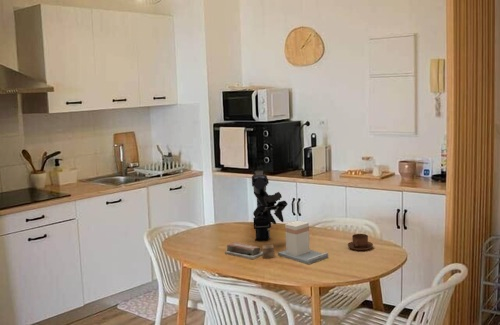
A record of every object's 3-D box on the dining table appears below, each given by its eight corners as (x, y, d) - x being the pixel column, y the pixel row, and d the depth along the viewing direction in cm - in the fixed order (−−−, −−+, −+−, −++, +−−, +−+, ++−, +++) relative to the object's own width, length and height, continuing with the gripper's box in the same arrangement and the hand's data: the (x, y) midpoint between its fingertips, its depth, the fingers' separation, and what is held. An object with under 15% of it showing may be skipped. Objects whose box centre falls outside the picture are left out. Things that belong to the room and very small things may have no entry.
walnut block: (263, 258, 267) (262, 248, 266) (263, 255, 272) (262, 245, 271) (274, 258, 267) (273, 247, 266) (273, 254, 272) (273, 244, 271)
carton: (286, 253, 270) (285, 224, 268) (299, 248, 275) (298, 220, 273) (296, 256, 264) (295, 226, 262) (309, 251, 270) (308, 222, 268)
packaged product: (223, 244, 277) (236, 239, 284) (224, 254, 278) (237, 249, 285) (252, 250, 265) (265, 245, 273) (252, 260, 266) (265, 254, 274)
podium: (278, 255, 271) (277, 250, 271) (297, 248, 279) (297, 244, 279) (308, 264, 256) (308, 259, 255) (328, 257, 264) (328, 252, 264)
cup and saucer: (373, 252, 269) (372, 239, 268) (347, 252, 271) (347, 239, 270) (372, 244, 280) (372, 232, 279) (348, 244, 283) (347, 232, 282)
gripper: (255, 190, 273) (272, 217, 266) (284, 184, 284) (300, 209, 278) (246, 204, 280) (262, 230, 273) (274, 197, 292) (290, 222, 285)
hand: (279, 222), depth 277 cm, fingers open, 5 cm apart
